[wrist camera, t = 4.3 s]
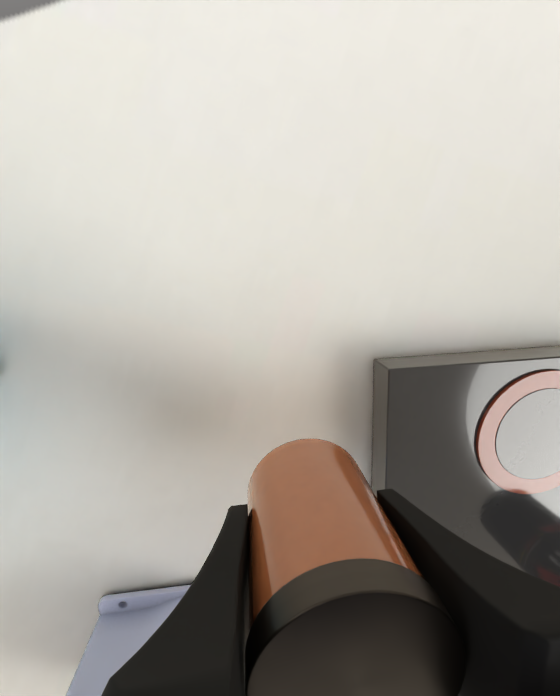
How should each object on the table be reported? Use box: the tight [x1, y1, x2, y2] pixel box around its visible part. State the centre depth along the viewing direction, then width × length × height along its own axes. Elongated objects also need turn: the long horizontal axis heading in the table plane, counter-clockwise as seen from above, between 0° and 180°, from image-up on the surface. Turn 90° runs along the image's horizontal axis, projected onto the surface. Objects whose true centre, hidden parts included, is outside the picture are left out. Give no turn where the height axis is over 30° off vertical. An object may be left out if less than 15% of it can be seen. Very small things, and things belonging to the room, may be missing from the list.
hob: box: [372, 346, 560, 587], centre depth 21 cm, size 15×19×2 cm
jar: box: [245, 439, 466, 696], centre depth 11 cm, size 5×5×7 cm
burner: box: [476, 370, 560, 494], centre depth 19 cm, size 8×8×1 cm
